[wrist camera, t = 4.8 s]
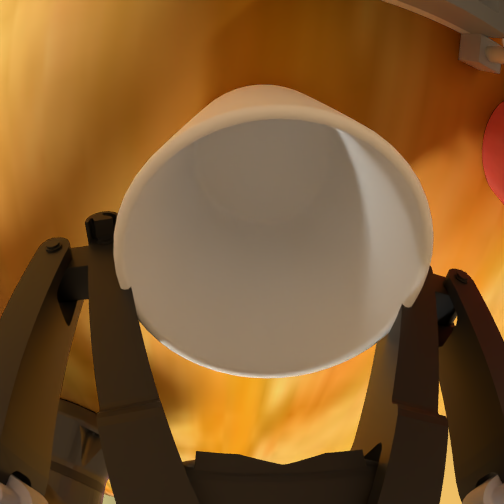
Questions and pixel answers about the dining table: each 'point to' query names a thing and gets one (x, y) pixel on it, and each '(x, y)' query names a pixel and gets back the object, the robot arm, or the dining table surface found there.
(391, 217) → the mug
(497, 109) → the flower pot
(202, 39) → the dining table surface
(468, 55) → the case
